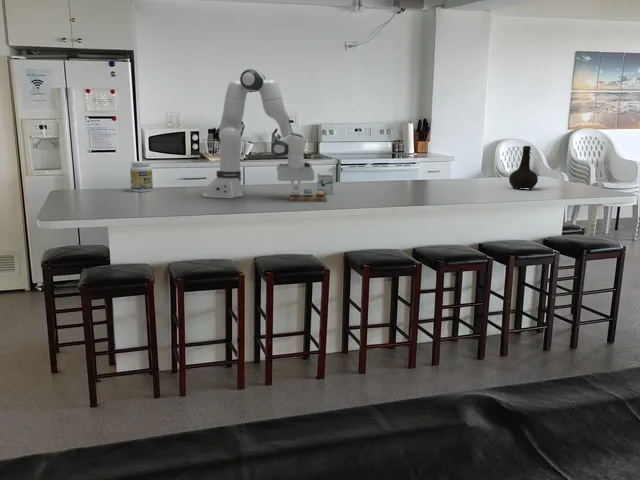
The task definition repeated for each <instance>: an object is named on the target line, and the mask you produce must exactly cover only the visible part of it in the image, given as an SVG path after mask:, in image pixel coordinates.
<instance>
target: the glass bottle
mask: <svg viewBox="0 0 640 480" xmlns="http://www.w3.org/2000/svg"><path fill="white" fill-rule="evenodd" d="M531 151H532V148H531V145H523V147H522V155H521V159H520V164H519V167H518V168H516V170H514V171H512V172H511V173H510V175H509V177H508V181H509V185H510V186H511V187H512V188H513V187H517V188H532V189H533V188H534V187H536V185H537V184H538V181H539V178H538V177H539V176H538V175H537V173H536V172H534V171H532V169H531V166H530V160H531V159H530V158H531Z"/></svg>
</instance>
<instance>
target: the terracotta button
mask: <svg viewBox="0 0 640 480" xmlns="http://www.w3.org/2000/svg"><path fill="white" fill-rule="evenodd" d="M315 192H316V194H315V195H319V196H323V195H325V194H324V191H317V190H316V191H315Z"/></svg>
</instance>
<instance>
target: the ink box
mask: <svg viewBox="0 0 640 480" xmlns="http://www.w3.org/2000/svg"><path fill="white" fill-rule="evenodd" d="M316 189H317V190H316V191H324V195H333V194H334V174H333V173H325V172H324V173H323V172H322V173H317V187H316Z"/></svg>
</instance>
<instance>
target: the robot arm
mask: <svg viewBox="0 0 640 480" xmlns="http://www.w3.org/2000/svg"><path fill="white" fill-rule="evenodd" d="M254 92H258V93H259V94H260V97H261V102H262V108H263V110H264V113H265V114H266V116H267V117H269V118H271V119H273V120H274V121H275V122H276V123H277V125H278V127H279V130H280V133H281V137H282V138H280V139H279V138H278V139H277V140H274V141H273V142H272V144H271V153H272V154H273V155H274V156H275V157H278V158H283V157H285V158H286V157H287V163H279V164H277V166H276V171H277V180H278V181H279V182H284V181H286V182H291V185H292V189H299V186H300V184H301V182H303V181H307V182H311V181H314V180H315V171H314V169H313V164H312V162H310V161H307V160H304V159H305V157H304V156H305V155H304V152H305V144H304V143H305V140H304V137H303V135H302V134H299V133H294V132H293V129H292V125H291V122H290V119H289V115H288V113H287V111H286V109H285V106H284V102H283V95H282V93H281V89H280V85H279V83H278V82H277V81H276V80H274V79H266V77H265V75H264V74H263V73H262V72H260V71H258V70H257V69H251V68H250V69H246V70H244V71H243V72H242V73H241V74H240V77H239V79H233V80H231V81H229V83H228V85H227V89H226V92H225V97H224V98H225V99H224V104H223V110H222V114H221V115H222V116H221V121H220V125H219V132H218V138H219V141H220V151H219V153H220V154H219V167H220V168H219V170H216V171H215V172H216V178H214V179H213V180H212V181H211V182H209V183H208V184H207V188H206V192H203V194H202V196H203V198H216V199H218V198H219V199H232V198H238V197H239V198H240V197H241V198H242V197H243V196H244V194H243V189H242V184H241V183H242V181H241V180H242V171H241V144H242V134H241V131H240V130H241V126H242V122H243V118H244V113H245V112H244V111H245V106H246V99H247V95H248V93H254ZM296 181H297V185H296V184H294V183H295V182H296ZM299 190H300V189H299Z"/></svg>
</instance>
